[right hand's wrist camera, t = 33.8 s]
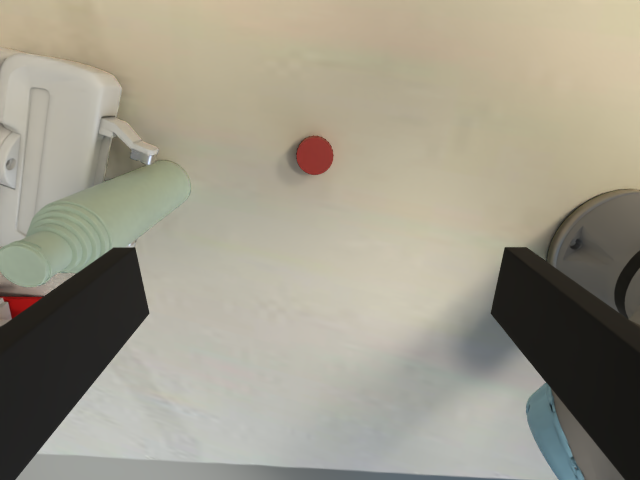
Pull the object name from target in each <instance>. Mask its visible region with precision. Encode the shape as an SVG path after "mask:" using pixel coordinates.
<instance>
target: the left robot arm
mask: <svg viewBox="0 0 640 480" xmlns="http://www.w3.org/2000/svg"><path fill="white" fill-rule="evenodd" d="M121 93H122V87H121V85H120V84H119V82H118V81H117V79H116V78H115V77H114V75H112V74H111V73H108V72H106V71H103V70H101V69H98V68H95V67H92V66H89V65H86V64H82V63H79V62H75V61H71V60H66V59H61V58H56V57H50V56H44V55H36V54H29V53H25V52H22V51H18V50H14V49H9V48H4V47H0V246H2V247H4V246H5V245H8V244H9V243H12V242H14V241H19V240H22V239H24V238H25V237H26V235H27V232H28V229H29V226H30V223H31V221H32V219H33V217H34V216H35V214H36V213H37V212H39V211H40V209H41V208H43V207H44V206H45V205H47V204H49V203H52V202H54V201H57V200H59V199H62V198H64V197H67V196H70V195H72V194H75V193H77V192H80V191H82V190H85V189H87V188H90V187H93V186H95V185H98V184H100V183H103V182H104V180H105V174H106V169H107V164H108V159H109V154H110V149H111V144H112V139H113V138H114V137H119V138H120V139H121V140H122V141H123V142H124V143H125V144H126V145H127V146H128V147H129V148H130V149H132V150H131V155H130V158H131V159H134V160H136V161H139V160H140V161H141V162H142V163H144V164H147V165H152V164H153V163H155V162H156V158H157V154H158V151H159V148H158V147H156V146H153V145H151V144H148V143H146V142H143V141H142V139H141V138H140V137H139V135H138V134H137V133H136V132H135V131H134V130H133V129H132V127H131V126H130V125H129V124H128V123H127V122H125V121H123V120H120V119H118V118H117V113H118V108H119V103H120V98H121ZM136 240H137V239H136ZM136 240H135V241H133V242H132V243H131V244H130V245H128V246H127V247H134V246H135V244H136Z"/></svg>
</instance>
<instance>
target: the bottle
mask: <svg viewBox="0 0 640 480" xmlns="http://www.w3.org/2000/svg"><path fill="white" fill-rule="evenodd" d="M190 191H191V184H190V180H189V177H188V175H187V173H186V172H185V171H184V170H183V169H182V168H181V167H180V166H179V165H177V164H175V163H173V162H171V161H165V160H161V161H156V162H155V163H153V164H152V165H146V166H143V167H141V168H138V169H136V170H133V171H131V172H128V173H126V174H123V175H121V176H118V177H115V178H113V179H110V180H108V181H105V182H103V183H100V184H98V185H95V186H93V187H90V188H87V189H85V190H82V191H80V192H77V193H75V194H72V195H70V196H67V197H64V198H62V199H59V200H57V201H54V202H52V203H49V204H47V205H45V206H44V207H43V208H41V209H40V211H39V212H37V213H36V214H35V216H34V217H33V219H32V221H31V223H30V226H29V229H28V232H27V235H26V237H25V238H24V239H22V240H19V241H14V242H12V243H9V244H8V245H5V246H4V247H2V248H1V249H0V272H1V273H2V274H3V275H4V276H5V277H6V278H7V279H8V280H9V281H11V282H12V283H14V284H16V285H19V286H22V287H36V286H40V285H43V284H45V283H46V282H47V281H49V279H50V278H51V277H52V276H54V275H55V274H57V273H78V272H79V271H81V270H82V269H84V268H85V267H86V266H88V265H89V264H91V263H92V262H94V261H95V260H96V259H98V258H99V257H101V256H102V255H104V254H105V253H106V252H108V251H109V250H111V249H112V248H113V247H127V246H128V245H130V244H131V243H132V242H133V241H135V240H136V239H137V238H138V237H140V236H141V235H142V234H144V233H145V232H146V231H147V230H149V229H150V228H151V227H153V226H154V225H155V224H156V223H158V222H159V221H160V220H162V219H163V218H164V217H165V216H167V215H168V214H169V213H171V212H172V211H173V210H174V209H176V208H177V207H178V206H179V205H181V204H182V203H183V202H184V201H186V199H187V198H188V196H189V194H190Z"/></svg>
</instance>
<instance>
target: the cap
mask: <svg viewBox="0 0 640 480" xmlns="http://www.w3.org/2000/svg"><path fill="white" fill-rule="evenodd" d="M296 155H297V158H296V159H297V163H298V164H299V166H300V168H301V169H302V170H303V171H305V172H306V173H308V174H312V175H318V174H321V173H324V172H325V171H326V170H328V168H329V167H330V166H331V164H332V161H333V150H332V147H331V145H330V144H329V142H327V141H326V139H324V138H322V137H319V136H311V137H310V136H309V137H308V138H305V139H304V140H303V141H302V142H301V144H299V147H298V149H297V153H296Z"/></svg>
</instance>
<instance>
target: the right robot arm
mask: <svg viewBox="0 0 640 480" xmlns="http://www.w3.org/2000/svg"><path fill="white" fill-rule="evenodd" d="M148 314H149V309H148V305H147V300H146V295H145V291H144V286H143V282H142V277H141V272H140V268H139V263H138V258H137V254H136V249H135V247H113V248H112V249H111V250H109V251H108V252H106V253H105V254H104V255H102V256H101V257H99V258H98V259H96V260H95V261H94V262H92V263H91V264H89V265H88V266H86V267H85V268H84V269H82V270H81V271H79V272H78V273H77V274H75V275H74V276H72V277H71V278H69V279H68V280H67V281H65V282H64V283H62V284H61V285H60V286H58V287H57V288H55V289H54V290H52V291H51V292H50V293H48V294H47V295H45V296H44V297H43V298H41V299H40V300H38V301H37V302H35V303H34V304H33V305H31V306H30V307H28V308H27V309H26V310H24V311H23V312H21V313H20V314H18V315H17V316H16V317H14V318H13V319H11V320H10V321H8V322H7V323H6V324H4V325H2V326H0V480H15V479H16V478H17V477H18V476H19V474H20V473H21V472H22V471H23V469H24V468H25V467H26V466H27V464H28V463H29V462H30V461H31V460H32V458H33V457H34V456H35V455H36V453H37V452H38V451H39V450H40V448H41V447H42V446H43V445H44V443H45V442H46V441H47V440H48V438H49V437H50V436H51V435H52V433H53V432H54V431H55V430H56V429H57V427H58V426H59V425H60V424H61V422H62V421H63V420H64V419H65V417H66V416H67V415H68V414H69V412H70V411H71V410H72V409H73V407H74V406H75V405H76V404H77V402H78V401H79V400H80V399H81V398H82V396H83V395H84V394H85V393H86V391H87V390H88V389H89V388H90V386H91V385H92V384H93V383H94V381H95V380H96V379H97V378H98V376H99V375H100V374H101V373H102V371H103V370H104V369H105V368H106V367H107V365H108V364H109V363H110V362H111V360H112V359H113V358H114V357H115V355H116V354H117V353H118V352H119V350H120V349H121V348H122V347H123V345H124V344H125V343H126V342H127V341H128V339H129V338H130V337H131V336H132V334H133V333H134V332H135V331H136V329H137V328H138V327H139V326H140V324H141V323H142V322H143V321H144V319H145V318H146V317H147V316H148ZM491 314H492V316H493V317H494V318H495V319H496V321H497V322H498V323H499V324H500V326H501V327H502V328H503V329H504V331H505V332H506V333H507V334H508V336H509V337H510V338H511V339H512V341H513V342H514V343H515V344H516V345H517V347H518V348H519V349H520V350H521V352H522V353H523V354H524V355H525V357H526V358H527V359H528V360H529V362H530V363H531V364H532V365H533V367H534V368H535V369H536V370H537V372H538V373H539V374H540V375H541V376H542V378H543V379H544V380H545V381H546V383H545V384H544V385H543V386H542V387H540V388H539V389H538V390H537V391H536V392H535V393H533V394H532V395H531V396H530V398H529V399H528V401H527V405H526V413H527V420H528V424H529V427H530V430H531V432H532V434H533V437H534V439H535V441H536V443H537V445H538V447H539V449H540V451H541V452H542V454H543V456H544V458H545V459H546V461H547V463H548V464H549V466H550V467H551V469H552V470H553V472H554V473H555V475H556V476H557V478H558V479H559V480H640V190H634V189H625V190H617V191H612V192H608V193H605V194H602V195H600V196H597V197H595V198H593V199H591V200H589V201H588V202H586V203H584V204H583V205H581V206H580V207H579V208H577V209H576V210H575V211H574V212H573V213H571V214H570V215H569V216H568V217H567V218H566V220H565V221H564V222H563V223H562V224H561V226H560V227H559V228H558V230H557V232H556V233H555V235H554V237H553V239H552V241H551V244H550V247H549V251H548V257H547V262H546V261H545V260H544V259H542V258H541V257H539V256H538V255H536V254H535V253H534V252H532V251H531V250H529V249H528V248H527V247H505V249H504V254H503V258H502V263H501V268H500V272H499V277H498V282H497V286H496V291H495V295H494V300H493V305H492V309H491Z"/></svg>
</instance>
